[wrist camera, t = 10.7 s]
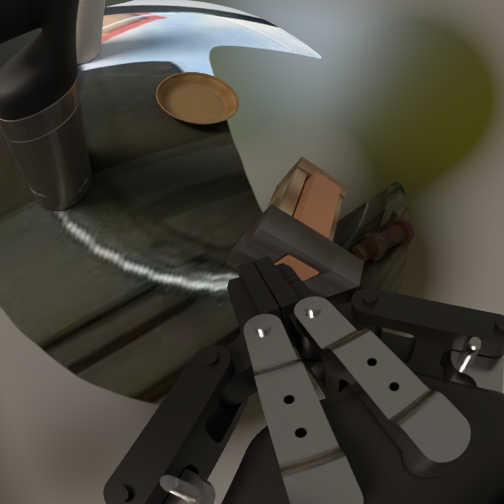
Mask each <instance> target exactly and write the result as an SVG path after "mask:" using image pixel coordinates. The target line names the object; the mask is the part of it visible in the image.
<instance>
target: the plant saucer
mask: <svg viewBox="0 0 504 504" xmlns="http://www.w3.org/2000/svg"><path fill="white" fill-rule="evenodd" d="M156 98H157V101H158V103H159V105H160V106H161V107H162V109H163V110H164V111H165V112H166V113H167V114H169V115H170V116H172V117H173V118H175V119H177V120H179V121H182V122H185V123H188V124H193V125H209V124H215V123H219V122H222V121H225V120H227V119H228V118H230V117H232V116H233V115H234V114H235V112H236V111H237V109H238V107H239V99H238V96H237V94H236V92H235V91H234V90H233V88H232V87H230V86H229V85H228V84H227V83H226V82H224V81H222V80H221V79H219V78H217V77H214V76H211V75H208V74H204V73H198V72H184V73H178V74H175V75H172V76H170V77H168V78H166V79H165V80H163V81H162V82H161V83H160V84H159V86H158V88H157V90H156Z"/></svg>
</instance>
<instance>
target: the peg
mask: <svg viewBox="0 0 504 504" xmlns="http://www.w3.org/2000/svg"><path fill="white" fill-rule="evenodd" d="M340 190H341V187H339V186H338V185H336V184H335V183H333V182H332V181H330V180H329V179H327V178H326V177H324V176H323V175H321V174H320V173H318V172H317V171H316V172H315V173H314V174H313V175H312V176H311V177H310V178H309V179H308V180H307V181H306V182H305V183H304V184H303V187H302V189H301V192H300V195H299V198H298V200H297V203H296V206H295V209H294V211H293V214H292V217H294V218H296V219H297V220H299V221H301V222H302V223H304V224H306V225H307V226H309V227H310V228H312V229H314V230H315V231H317V232H318V233H320V234H322V235H323V236H325V237H326V238H329V234H330V230H331V227H332V223H333V219H334V215H335V211H336V207H337V202H338V198H339V194H340ZM273 263H274V264H275V265H278V264H281V263H284V264H286V265H288V266H290V267H292V269H293V270H294V271H295V272H296V274H297V275H298V276H299V277H300V279H301V280H302V281H305V280H307V279H309V278H311V277H313V276H316V275H318V274H319V271H317V270H315V269H314V268H312V267H310V266H308V265H307V264H305V263H303V262H301V261H300V260H298V259H296V258H294V257H292V256H291V255H289V254H285V255H284V256H282V257H281V258H279V259H278V260H276V261H275V262H273Z"/></svg>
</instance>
